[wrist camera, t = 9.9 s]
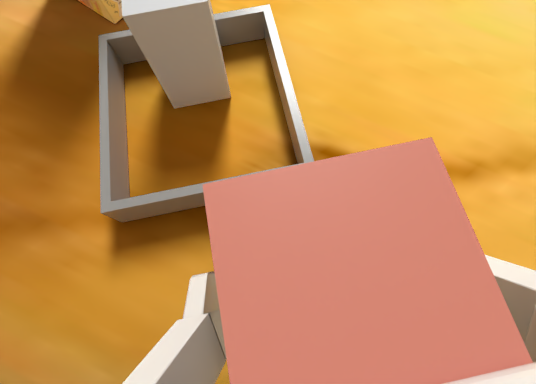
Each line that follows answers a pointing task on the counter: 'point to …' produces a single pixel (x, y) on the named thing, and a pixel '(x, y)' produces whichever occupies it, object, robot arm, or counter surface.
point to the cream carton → (355, 274)
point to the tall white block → (180, 48)
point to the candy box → (106, 8)
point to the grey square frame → (114, 114)
